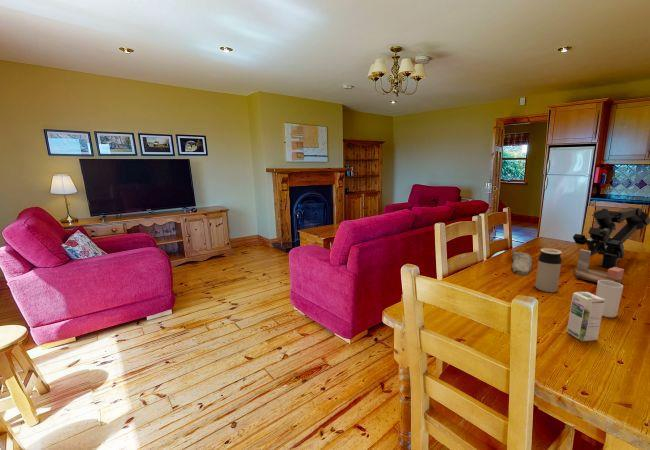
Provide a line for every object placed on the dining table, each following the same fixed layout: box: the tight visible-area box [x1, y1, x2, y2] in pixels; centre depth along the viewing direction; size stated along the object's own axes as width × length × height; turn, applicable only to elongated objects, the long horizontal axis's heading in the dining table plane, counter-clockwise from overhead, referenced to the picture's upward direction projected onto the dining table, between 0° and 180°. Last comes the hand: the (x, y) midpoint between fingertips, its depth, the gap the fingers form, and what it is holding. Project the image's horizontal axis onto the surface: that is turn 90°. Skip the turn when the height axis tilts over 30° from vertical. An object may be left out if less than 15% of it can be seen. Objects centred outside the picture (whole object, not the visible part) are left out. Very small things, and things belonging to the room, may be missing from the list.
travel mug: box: [534, 247, 563, 293], centre depth 129 cm, size 8×8×18 cm
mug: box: [595, 280, 624, 318], centre depth 109 cm, size 10×7×12 cm, turn 131°
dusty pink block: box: [607, 267, 625, 280], centre depth 134 cm, size 4×6×4 cm, turn 115°
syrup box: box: [566, 291, 605, 342], centre depth 94 cm, size 6×6×14 cm
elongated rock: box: [511, 251, 533, 276], centre depth 161 cm, size 35×5×10 cm
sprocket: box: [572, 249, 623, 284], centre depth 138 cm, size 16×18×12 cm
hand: (589, 255), depth 144 cm, fingers closed
